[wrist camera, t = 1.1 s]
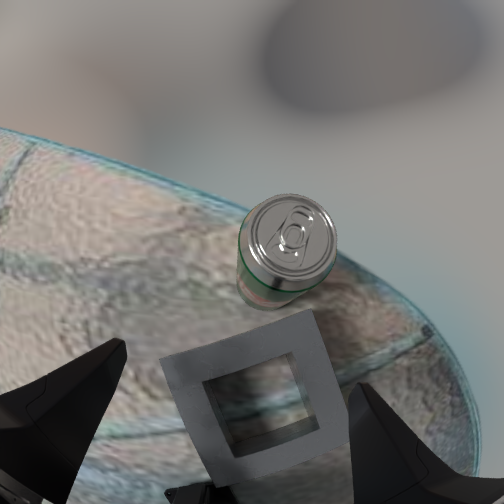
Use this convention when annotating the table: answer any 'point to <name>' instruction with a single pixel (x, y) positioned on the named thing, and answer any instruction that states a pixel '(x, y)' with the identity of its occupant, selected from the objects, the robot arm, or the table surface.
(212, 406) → the sleeve block
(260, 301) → the soda can
